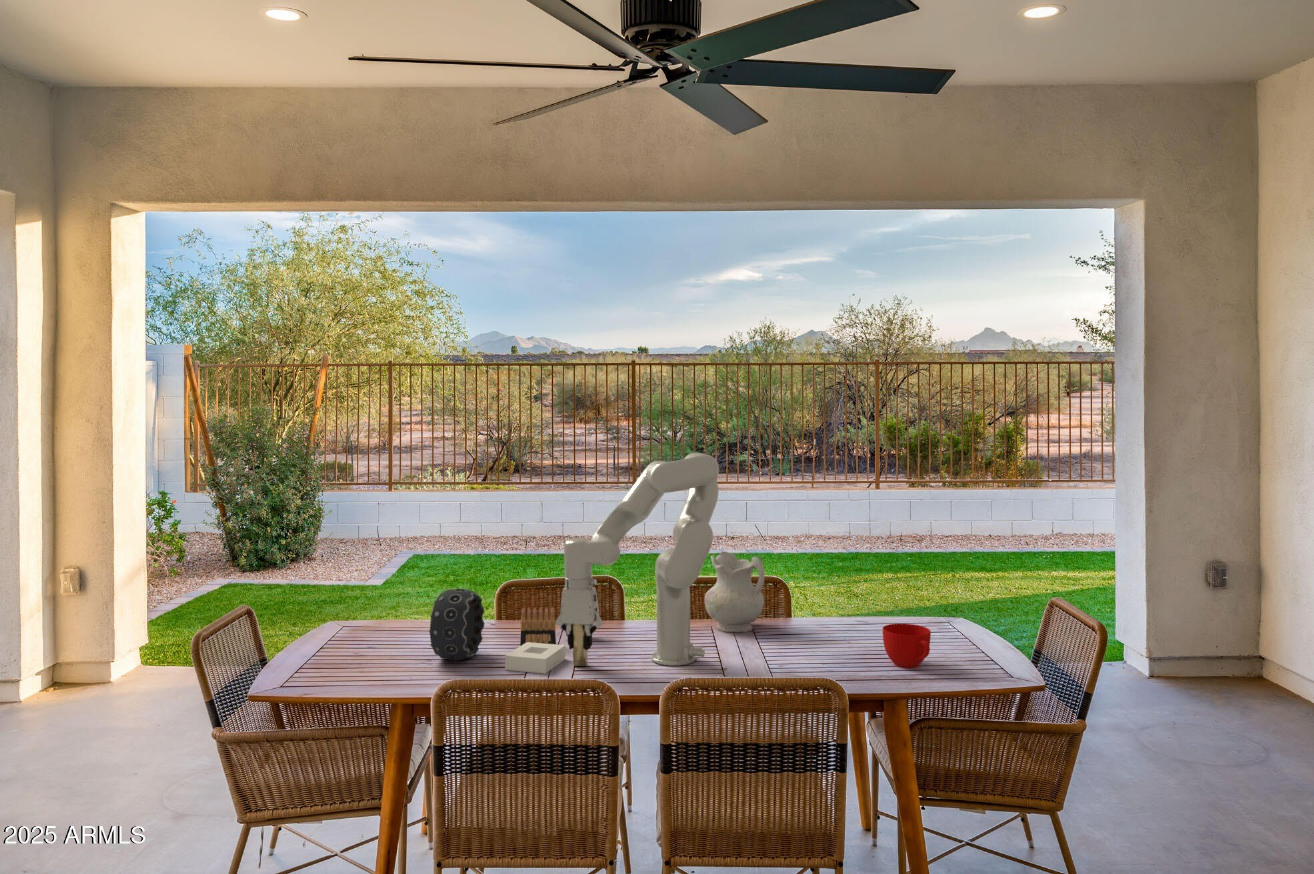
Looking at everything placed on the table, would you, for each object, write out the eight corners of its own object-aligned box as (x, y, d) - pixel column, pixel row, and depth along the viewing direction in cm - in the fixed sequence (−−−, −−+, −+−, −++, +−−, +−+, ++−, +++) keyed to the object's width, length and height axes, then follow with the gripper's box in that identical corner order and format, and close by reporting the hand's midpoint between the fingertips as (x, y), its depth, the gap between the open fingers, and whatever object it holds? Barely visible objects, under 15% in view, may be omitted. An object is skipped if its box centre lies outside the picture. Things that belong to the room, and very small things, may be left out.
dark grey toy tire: (427, 668, 237) (426, 596, 236) (451, 648, 257) (451, 582, 256) (464, 669, 236) (464, 597, 235) (486, 649, 256) (486, 582, 255)
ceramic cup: (906, 678, 228) (907, 640, 227) (873, 660, 244) (873, 625, 244) (948, 673, 231) (949, 637, 231) (913, 656, 248) (913, 622, 247)
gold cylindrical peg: (589, 662, 240) (588, 619, 240) (584, 666, 237) (583, 623, 236) (576, 661, 242) (575, 619, 241) (571, 665, 238) (570, 622, 237)
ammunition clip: (520, 647, 258) (519, 607, 257) (520, 645, 259) (520, 606, 259) (555, 646, 258) (555, 607, 258) (556, 645, 260) (556, 606, 259)
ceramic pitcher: (779, 630, 281) (781, 554, 282) (753, 639, 264) (756, 558, 265) (721, 622, 292) (723, 549, 293) (693, 630, 276) (695, 552, 277)
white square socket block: (565, 659, 245) (565, 645, 245) (545, 673, 232) (545, 659, 232) (527, 655, 249) (527, 642, 249) (505, 669, 235) (505, 655, 235)
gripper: (611, 581, 239) (612, 646, 240) (556, 579, 244) (557, 642, 245) (602, 587, 232) (603, 654, 233) (545, 584, 237) (547, 650, 238)
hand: (580, 647), depth 239 cm, fingers closed on gold cylindrical peg, 4 cm apart
